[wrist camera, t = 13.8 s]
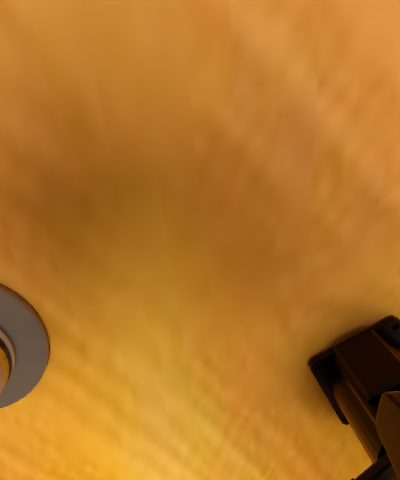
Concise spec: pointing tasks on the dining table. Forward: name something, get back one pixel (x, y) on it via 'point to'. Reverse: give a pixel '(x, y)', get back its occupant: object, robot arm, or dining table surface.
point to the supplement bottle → (5, 360)
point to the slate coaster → (22, 345)
